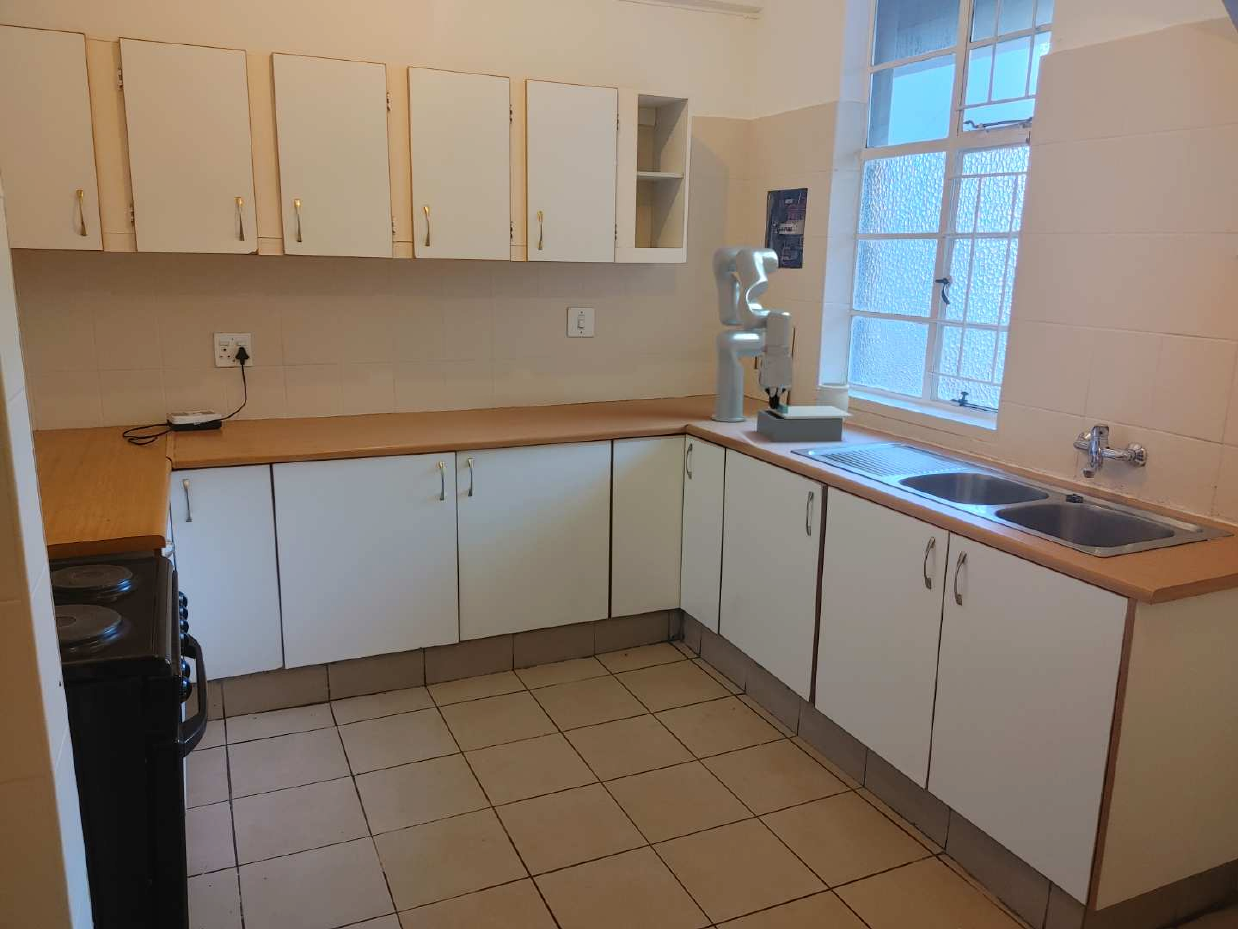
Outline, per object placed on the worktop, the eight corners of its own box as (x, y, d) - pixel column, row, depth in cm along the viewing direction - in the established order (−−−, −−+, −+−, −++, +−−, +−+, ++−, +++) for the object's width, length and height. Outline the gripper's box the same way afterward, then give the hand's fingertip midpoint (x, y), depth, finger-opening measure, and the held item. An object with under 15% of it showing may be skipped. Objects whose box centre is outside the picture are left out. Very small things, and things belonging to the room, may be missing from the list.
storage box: (756, 433, 303) (757, 410, 301) (820, 432, 306) (821, 409, 304) (773, 445, 285) (775, 420, 283) (841, 444, 289) (842, 419, 287)
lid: (767, 408, 301) (768, 399, 300) (831, 408, 305) (832, 398, 304) (785, 418, 284) (786, 408, 283) (853, 417, 287) (854, 407, 287)
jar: (847, 431, 309) (850, 387, 305) (815, 430, 311) (818, 386, 307) (846, 426, 319) (849, 383, 315) (815, 424, 321) (818, 381, 317)
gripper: (757, 352, 283) (754, 410, 287) (803, 352, 285) (800, 410, 289) (750, 349, 290) (747, 406, 295) (795, 349, 293) (792, 406, 297)
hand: (773, 408), depth 292 cm, fingers closed
